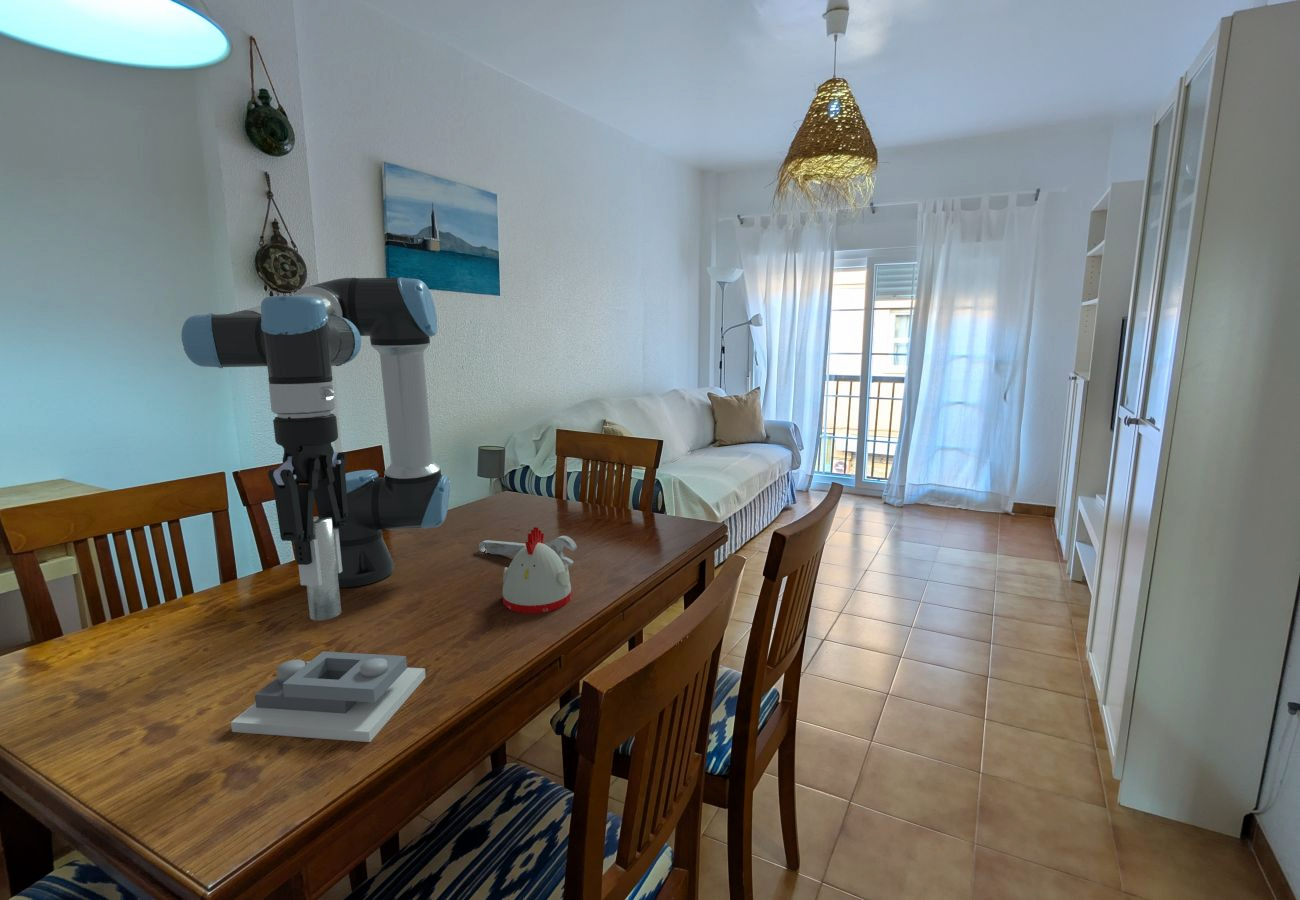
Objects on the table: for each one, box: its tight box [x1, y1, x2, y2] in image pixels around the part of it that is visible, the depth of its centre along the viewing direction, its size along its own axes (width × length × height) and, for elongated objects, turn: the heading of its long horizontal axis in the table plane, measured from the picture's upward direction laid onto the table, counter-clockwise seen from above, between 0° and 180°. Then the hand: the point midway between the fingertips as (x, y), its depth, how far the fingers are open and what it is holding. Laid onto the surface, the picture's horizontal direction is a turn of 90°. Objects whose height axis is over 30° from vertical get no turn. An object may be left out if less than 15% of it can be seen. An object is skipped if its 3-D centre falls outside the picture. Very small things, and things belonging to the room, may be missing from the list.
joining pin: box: [303, 515, 342, 621], centre depth 88 cm, size 4×4×14 cm
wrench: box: [478, 535, 578, 567], centre depth 148 cm, size 8×2×30 cm
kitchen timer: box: [502, 526, 572, 614], centre depth 127 cm, size 14×14×15 cm
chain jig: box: [230, 650, 426, 743], centre depth 92 cm, size 20×16×6 cm
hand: (322, 577), depth 88 cm, fingers closed on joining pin, 4 cm apart
